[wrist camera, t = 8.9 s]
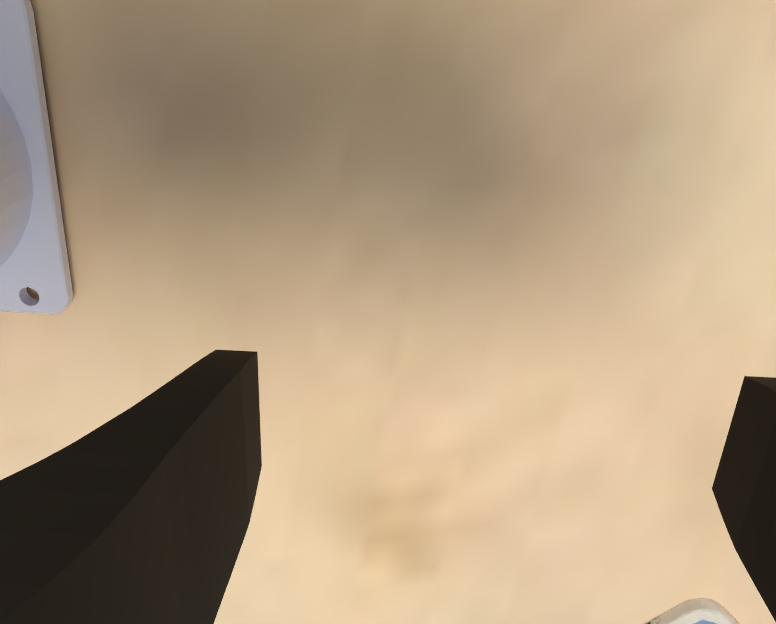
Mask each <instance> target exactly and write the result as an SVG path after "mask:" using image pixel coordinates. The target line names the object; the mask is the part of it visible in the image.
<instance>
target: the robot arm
mask: <svg viewBox="0 0 776 624" xmlns="http://www.w3.org/2000/svg"><path fill="white" fill-rule="evenodd" d="M27 287H29V288H32V289H34V290H35V291H36V292H37V293H38V295H39V300H36V299H33V298H32V297H30V296H29V295H28V293H27ZM72 299H73V291H72V284H71V277H70V270H69V263H68V255H67V248H66V241H65V234H64V227H63V220H62V213H61V205H60V198H59V191H58V184H57V177H56V170H55V162H54V155H53V148H52V141H51V134H50V127H49V119H48V112H47V105H46V98H45V91H44V84H43V77H42V69H41V62H40V55H39V48H38V41H37V34H36V26H35V19H34V12H33V8H32V5H31V2H30V0H0V311H7V312H23V313H39V314H58V313H60V312H62V311H64V310H65V309H66V308H67V307H68V306H69V305H70V303H71V302H72ZM261 466H262V463H261V437H260V411H259V385H258V358H257V352H251V351H231V350H215V351H213V352H212V353H210V354H208V355H207V356H205V357H204V358H202V359H201V360H199V361H198V362H196V363H195V364H193V365H192V366H191V367H189V368H188V369H186V370H185V371H183V372H182V373H181V374H179V375H178V376H176V377H175V378H174V379H172V380H171V381H169V382H168V383H166V384H165V385H163V386H162V387H161V388H159V389H158V390H156V391H155V392H153V393H152V394H150V395H149V396H147V397H146V398H144V399H143V400H141V401H140V402H139V403H137V404H136V405H134V406H133V407H131V408H130V409H128V410H126V411H125V412H123V413H121V414H120V415H118V416H117V417H115V418H113V419H112V420H110V421H108V422H107V423H105V424H103V425H102V426H100V427H99V428H97V429H95V430H94V431H92V432H90V433H89V434H87V435H86V436H84V437H82V438H81V439H79V440H77V441H76V442H74V443H72V444H70V445H69V446H67V447H65V448H63V449H62V450H60V451H58V452H56V453H54V454H52V455H50V456H48V457H47V458H45V459H43V460H41V461H39V462H37V463H35V464H33V465H31V466H29V467H27V468H25V469H23V470H21V471H19V472H17V473H15V474H13V475H11V476H8V477H6V478H4V479H2V480H0V624H213V623H214V621H215V618H216V615H217V612H218V610H219V607H220V604H221V601H222V598H223V596H224V593H225V590H226V587H227V585H228V582H229V579H230V576H231V574H232V571H233V568H234V565H235V562H236V560H237V557H238V554H239V551H240V548H241V545H242V543H243V540H244V537H245V534H246V531H247V528H248V525H249V522H250V517H251V513H252V509H253V504H254V500H255V495H256V490H257V485H258V481H259V476H260V471H261ZM712 490H713V493H714V495H715V498H716V501H717V504H718V507H719V509H720V512H721V515H722V518H723V520H724V523H725V525H726V528H727V530H728V533H729V535H730V538H731V540H732V542H733V545H734V547H735V549H736V551H737V553H738V555H739V557H740V559H741V561H742V563H743V564H744V566H745V568H746V570H747V572H748V573H749V575H750V577H751V579H752V581H753V582H754V584H755V586H756V588H757V590H758V591H759V593H760V595H761V597H762V599H763V600H764V602H765V604H766V606H767V607H768V609H769V611H770V613H771V614H772V616H773V618H774V620H775V621H776V378H769V377H749V376H745V377H744V380H743V384H742V387H741V391H740V394H739V397H738V401H737V404H736V408H735V411H734V415H733V418H732V422H731V425H730V428H729V432H728V435H727V439H726V442H725V446H724V449H723V453H722V456H721V459H720V463H719V466H718V470H717V473H716V477H715V480H714V484H713V487H712Z"/></svg>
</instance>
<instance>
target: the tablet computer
mask: <svg viewBox="0 0 776 624" xmlns="http://www.w3.org/2000/svg"><path fill="white" fill-rule="evenodd" d="M649 624H739V623H738V622H737V621H736V620H735V619H734V618H733V617H732V616H731V615H730V613H729V612H728V611H727V610H726V609H725V608H724V607H723V606H722V605H720V604H719V603H718V602H716V601H713V600H711V599H707V598H697V599H693V600H689V601H686V602H684V603H682V604H679V605H677V606H676V607H674V608H672V609H670V610H669V611H667V612H665V613H663V614H662V615H660V616H658V617H657V618H655V619H653V620H652V621H651V622H650V623H649Z"/></svg>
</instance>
